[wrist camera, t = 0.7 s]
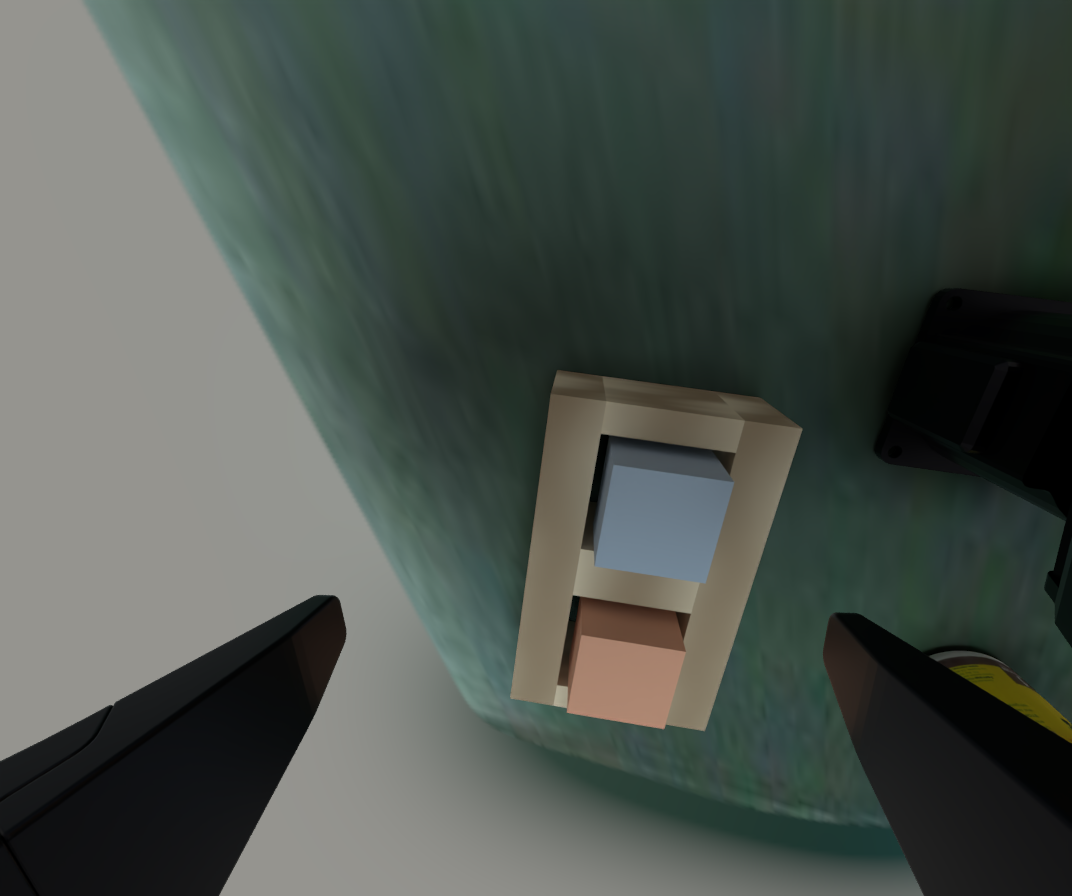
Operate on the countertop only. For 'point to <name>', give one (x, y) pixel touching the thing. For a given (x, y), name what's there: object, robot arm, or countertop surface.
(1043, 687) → the countertop surface
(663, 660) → the key terracotta
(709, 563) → the light blue square block
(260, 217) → the countertop surface
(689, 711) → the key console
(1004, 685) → the supplement bottle
